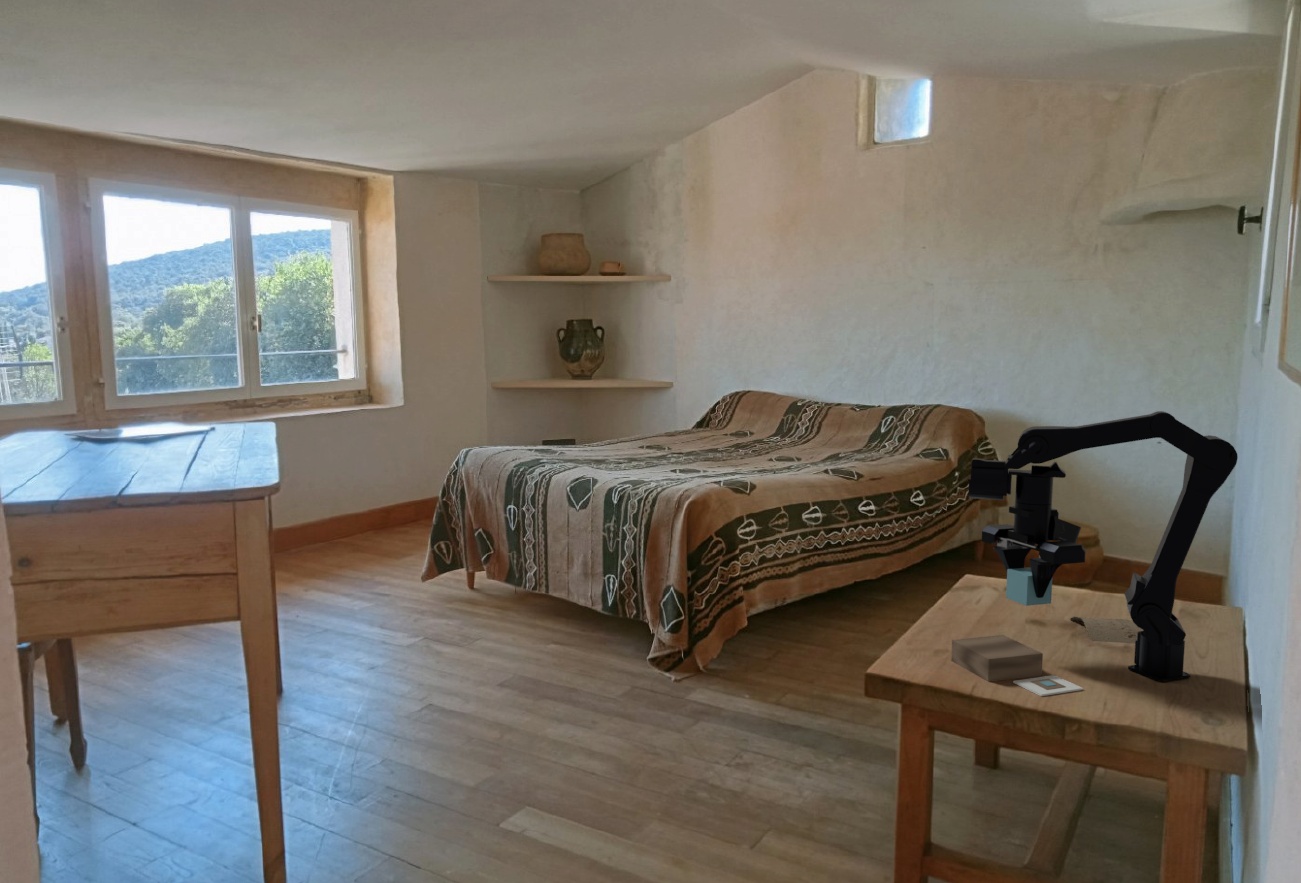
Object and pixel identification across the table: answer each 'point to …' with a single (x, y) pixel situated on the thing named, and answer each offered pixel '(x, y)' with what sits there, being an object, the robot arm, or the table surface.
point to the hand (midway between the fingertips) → (1028, 593)
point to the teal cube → (1025, 588)
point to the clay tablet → (1110, 629)
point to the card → (1048, 685)
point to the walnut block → (997, 658)
